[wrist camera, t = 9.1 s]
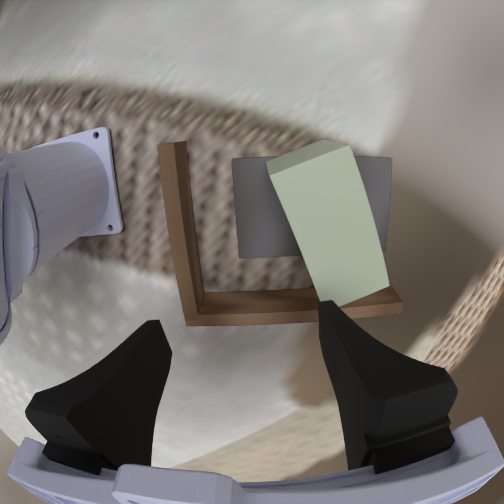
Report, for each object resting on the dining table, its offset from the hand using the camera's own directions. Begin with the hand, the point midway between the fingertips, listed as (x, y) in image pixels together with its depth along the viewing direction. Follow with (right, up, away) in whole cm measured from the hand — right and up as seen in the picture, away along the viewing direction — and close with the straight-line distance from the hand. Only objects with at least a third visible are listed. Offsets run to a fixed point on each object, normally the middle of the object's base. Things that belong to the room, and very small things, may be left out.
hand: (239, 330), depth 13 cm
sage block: (+5, +7, +7) cm, 11 cm away
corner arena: (+4, +5, +8) cm, 10 cm away
